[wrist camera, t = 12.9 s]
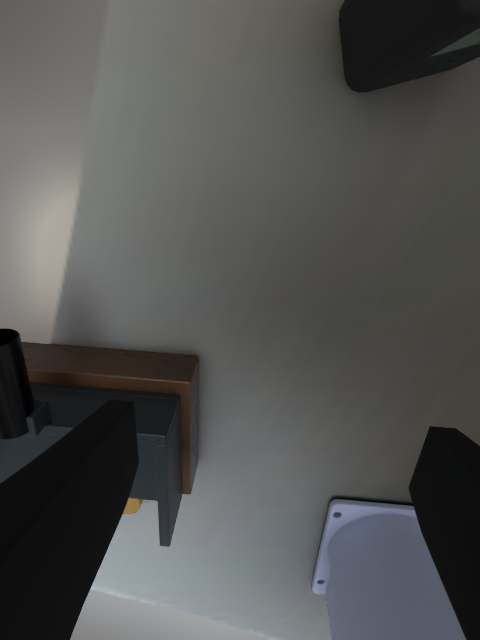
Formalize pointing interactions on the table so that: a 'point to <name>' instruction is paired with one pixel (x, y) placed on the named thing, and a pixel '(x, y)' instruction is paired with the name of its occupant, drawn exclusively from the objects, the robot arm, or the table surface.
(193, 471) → the stand
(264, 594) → the table surface
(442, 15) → the walkie-talkie
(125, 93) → the table surface
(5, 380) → the dark grey tray
